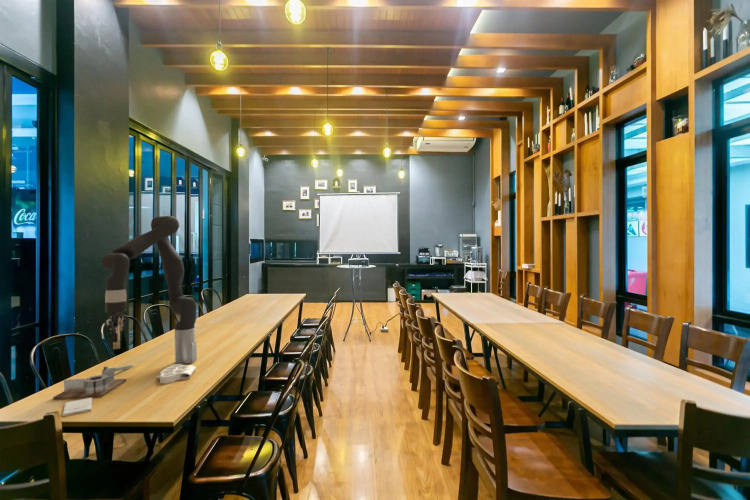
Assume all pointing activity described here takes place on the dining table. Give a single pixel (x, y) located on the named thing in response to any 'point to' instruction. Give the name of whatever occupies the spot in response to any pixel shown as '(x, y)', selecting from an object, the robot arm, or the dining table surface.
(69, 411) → the external hard drive
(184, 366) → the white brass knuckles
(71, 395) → the hinge board
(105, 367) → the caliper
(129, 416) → the dining table surface
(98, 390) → the hinge
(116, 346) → the hinge pin
